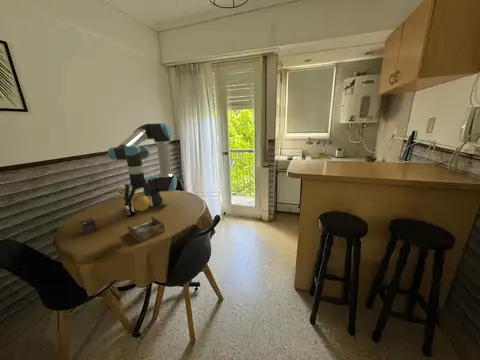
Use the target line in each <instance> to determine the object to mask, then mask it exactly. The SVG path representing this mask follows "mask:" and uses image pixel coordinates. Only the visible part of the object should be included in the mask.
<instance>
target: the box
mask: <svg viewBox="0 0 480 360" xmlns="http://www.w3.org/2000/svg"><path fill="white" fill-rule="evenodd" d="M80 224H81V228H82V231H83V232H84V234H85V235H88V234H91V233H93V232H96V231H98V229H97V225H96V221H95V219H94V218H92V217H90V218H87V219H84V220H80Z"/></svg>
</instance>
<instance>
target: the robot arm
mask: <svg viewBox="0 0 480 360" xmlns="http://www.w3.org/2000/svg"><path fill="white" fill-rule="evenodd" d="M172 138H173V132H172V128H171V126H170V125H169V123H164V122H163V123H145V124H143V125H141V126H139V127H137V128H136V129H134V130H133V133H132V134H131V135H130V136H128V137H127V138H126V139H125V140H124V141H122V143H120V144H119V145H118V146H117V147H114V146H113V147H109V148H108V151H107V154H108V157H109V159H110V160H111V161H125V160H126V164H127V171H128V173H129V174H128V176H129V181H130V182H129V183H124V188H125V189H124V195H123V201H124V202H126V203H128V206H129V208H130V210H131V212H132V213H135V211H136V210H135V208H134V205H133V201H132V200H133V198H134V196H135V193H136V191H137V190H139V189H142V190H143V194H144V195H147V196H148V197H149V199H150V206H149V207H148V208H151V207H157V206H160V205H161V204H163V203H164V202H163V201H164V200H163V197H162V195H161V192H163V193H164V192H174V191H175V190H176V189H177V186H178V185H177V184H178V178H177V177H176V176H175V174H174V173H172V163H171V155H170V145H169V143H170V142H171V139H172ZM146 140H153V141H154V142H153V143H155V144H156V149H157V156H158V163H159V164H158V166H159V175H158V176H157V175H150V176H149V175H148V176H145V174H144V167H143V161H142V160H145V159H148V157H150V156H151V150H150V149H149V147H148V146H145V145H140V144H142V142H145V141H146ZM139 145H140V146H139ZM130 187H131V189H130Z"/></svg>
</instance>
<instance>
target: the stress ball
mask: <svg viewBox="0 0 480 360" xmlns="http://www.w3.org/2000/svg"><path fill="white" fill-rule="evenodd" d="M132 201H133V205H134V210H135V211H140V212H143V211H146V210H147V209H148V208H150V207H149V206H150V199H149V197H148V196H147V195H144V193H140V194H137V195H134V196H133V198H132Z"/></svg>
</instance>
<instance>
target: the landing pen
mask: <svg viewBox="0 0 480 360" xmlns="http://www.w3.org/2000/svg"><path fill="white" fill-rule="evenodd" d="M127 231H128V234H129V235H130V236H131V237H132V238H134V240H135V241H136V242H138V243H142V242H143V240H144V241H145V239H146V240H148V239H151V238H153V237H155V236H157V235H156V234H158V235H160V234H162V233H164V232H163V231H165V232H166V229H165V223H164V222H162V221H161V220H159V219H158V218H157V217H155V216H154V215H152V216H151V220H150V221H149V222H145V223H143V224H140V225H137V226H135V227H133V226H131V225H130V224H127ZM161 232H162V233H161ZM159 233H160V234H159ZM154 235H155V236H154ZM152 236H153V237H152ZM150 237H151V238H150Z"/></svg>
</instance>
